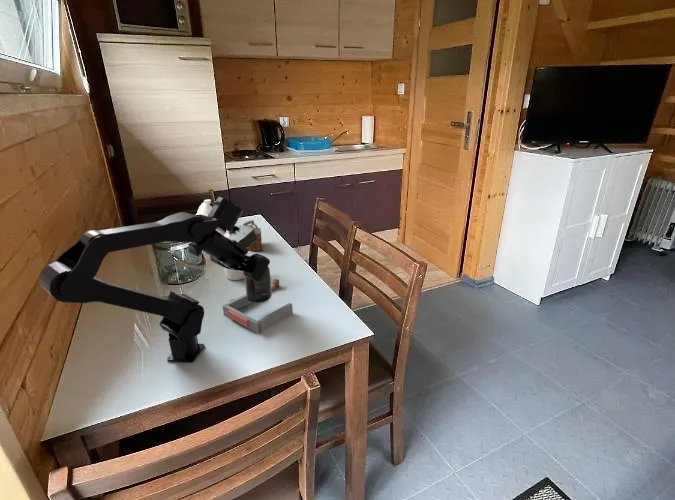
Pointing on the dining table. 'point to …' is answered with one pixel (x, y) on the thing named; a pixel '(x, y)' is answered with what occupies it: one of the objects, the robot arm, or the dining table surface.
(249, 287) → the supplement bottle
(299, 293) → the dining table surface
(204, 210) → the honey pot
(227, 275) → the pill bottle
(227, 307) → the bay
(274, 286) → the rail
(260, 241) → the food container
